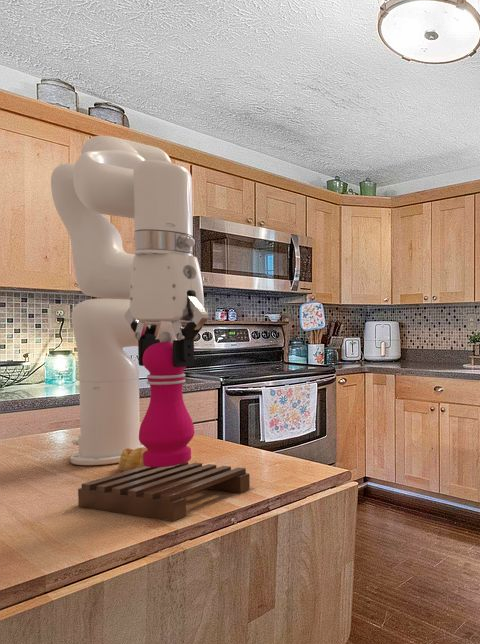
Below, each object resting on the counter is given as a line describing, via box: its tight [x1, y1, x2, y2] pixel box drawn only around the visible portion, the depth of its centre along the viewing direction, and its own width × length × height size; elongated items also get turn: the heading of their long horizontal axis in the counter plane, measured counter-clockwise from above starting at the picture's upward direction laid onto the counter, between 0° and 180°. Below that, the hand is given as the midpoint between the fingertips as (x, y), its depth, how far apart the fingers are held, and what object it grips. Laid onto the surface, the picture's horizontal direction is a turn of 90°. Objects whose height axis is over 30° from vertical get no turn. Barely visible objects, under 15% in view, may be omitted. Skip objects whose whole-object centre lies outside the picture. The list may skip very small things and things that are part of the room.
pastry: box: [117, 448, 147, 472], centre depth 92 cm, size 9×7×4 cm
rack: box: [77, 461, 251, 522], centre depth 76 cm, size 18×14×3 cm
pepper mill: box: [139, 332, 195, 467], centre depth 76 cm, size 7×7×20 cm
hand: (166, 364), depth 76 cm, fingers closed on pepper mill, 6 cm apart
